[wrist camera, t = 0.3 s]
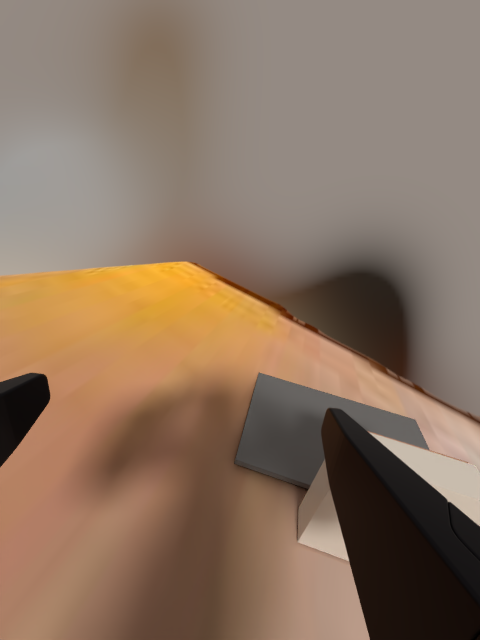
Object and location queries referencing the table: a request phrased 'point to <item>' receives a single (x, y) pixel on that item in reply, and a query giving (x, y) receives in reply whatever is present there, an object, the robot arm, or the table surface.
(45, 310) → the table surface
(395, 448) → the glazed tile
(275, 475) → the mat
